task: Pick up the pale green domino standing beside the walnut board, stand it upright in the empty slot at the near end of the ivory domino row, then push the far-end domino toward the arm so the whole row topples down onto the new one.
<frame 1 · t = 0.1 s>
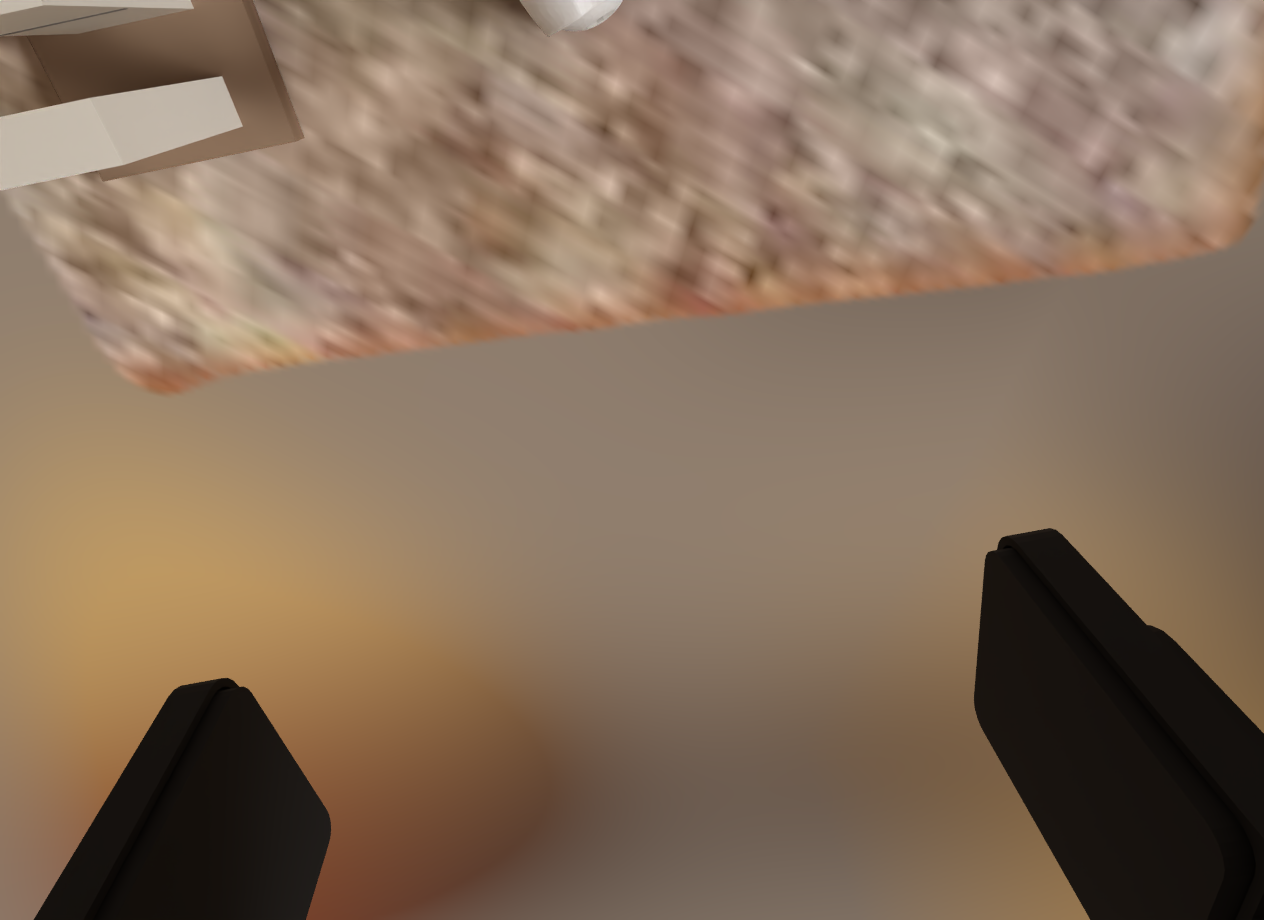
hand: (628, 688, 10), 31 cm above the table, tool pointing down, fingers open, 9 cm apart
domino 1: (177, 113, 32), point 1 cm above the table, touching domino board
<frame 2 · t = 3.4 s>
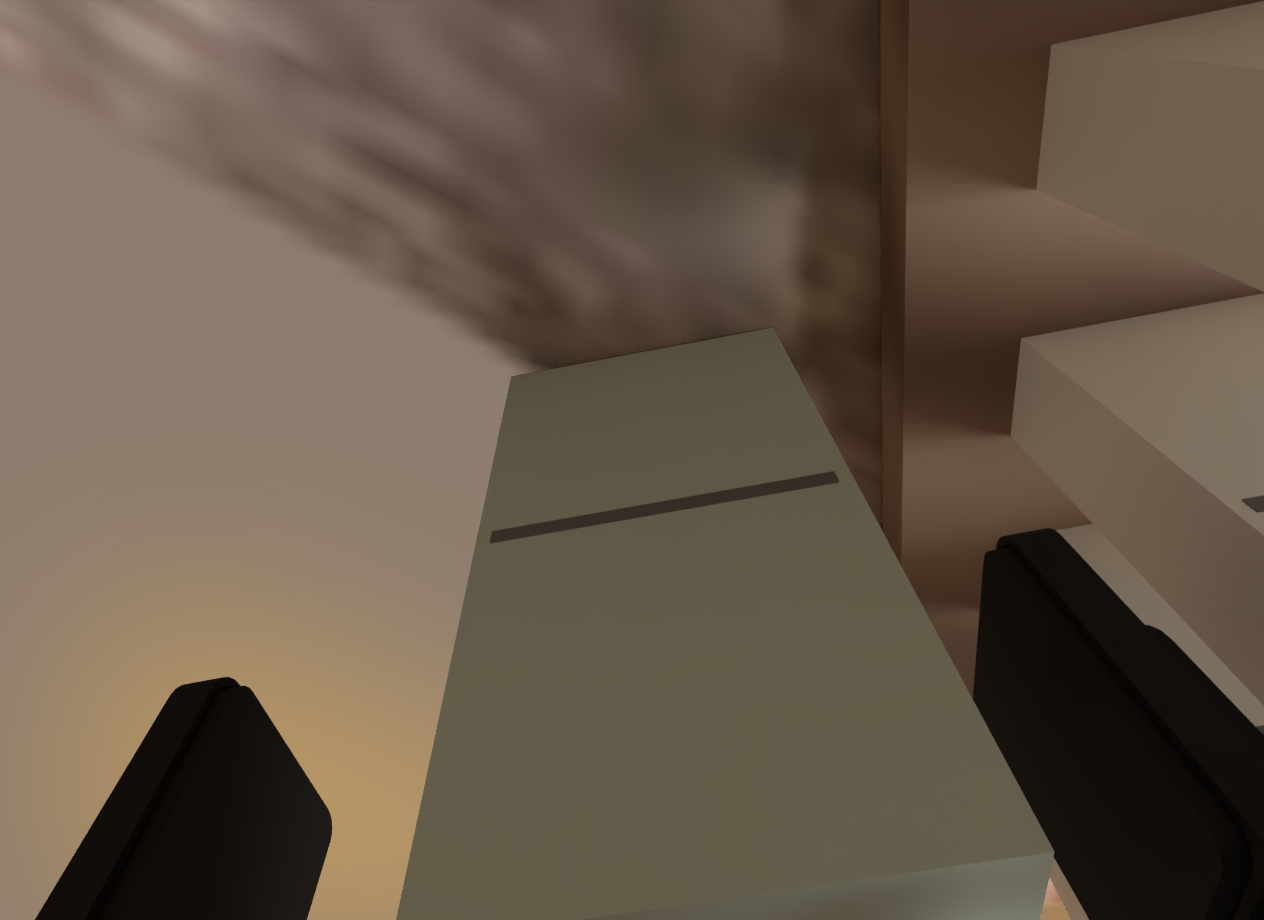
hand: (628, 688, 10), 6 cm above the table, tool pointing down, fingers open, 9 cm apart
domino 2: (1116, 556, 16), point 1 cm above the table, touching domino board
domino 4: (1217, 85, 11), point 1 cm above the table, touching domino board
domino 3: (1158, 363, 13), point 1 cm above the table, touching domino board, gripper
domino 1: (1086, 698, 18), point 1 cm above the table, touching domino board
pale green domino: (649, 398, 15), on the table
domino board: (1122, 312, 14), on the table
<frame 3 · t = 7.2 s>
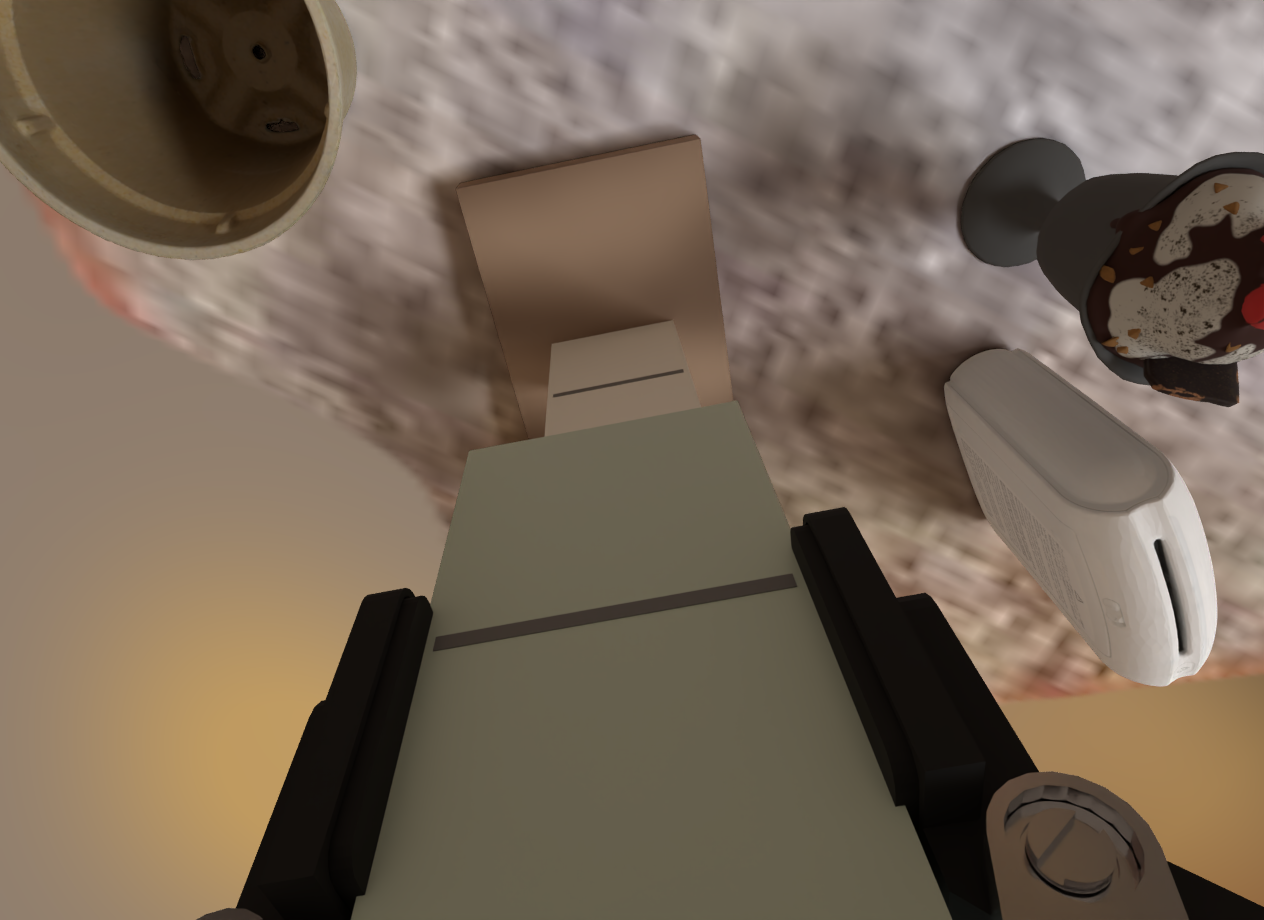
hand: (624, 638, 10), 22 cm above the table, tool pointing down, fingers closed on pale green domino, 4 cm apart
flower pot: (269, 54, 26), on the table
sundae: (1018, 202, 30), on the table
domino 4: (616, 354, 31), point 1 cm above the table, touching domino board
pale green domino: (612, 471, 14), point 18 cm above the table, touching gripper
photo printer: (998, 437, 36), on the table
domino board: (632, 425, 34), on the table
when the fingers open (7 cm above the table, at t = 10.5 s): pale green domino stays where it is, resting on domino board.
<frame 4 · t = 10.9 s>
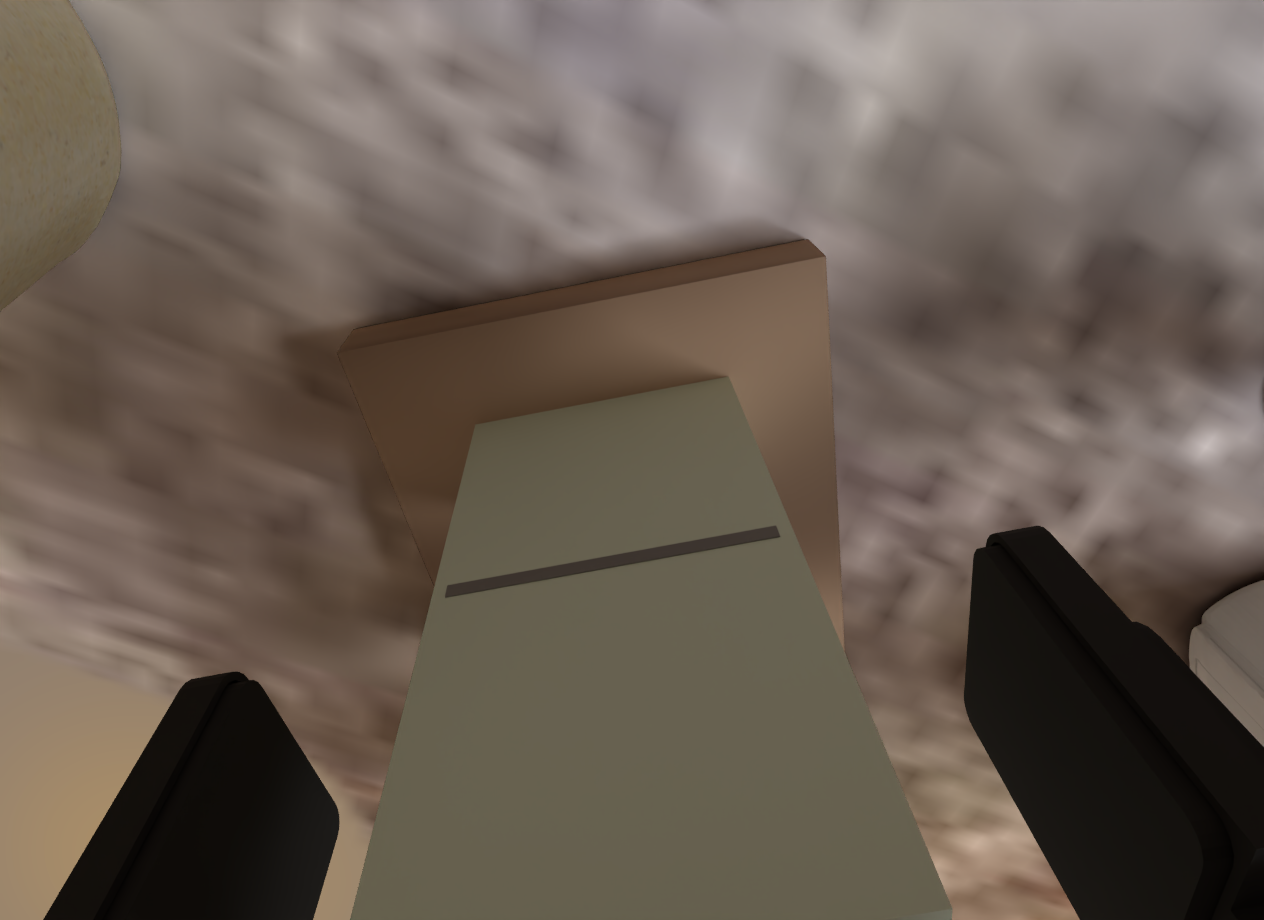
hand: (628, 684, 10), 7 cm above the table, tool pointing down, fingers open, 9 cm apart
pale green domino: (611, 444, 15), point 1 cm above the table, touching domino board
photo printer: (1254, 688, 22), on the table
domino board: (669, 690, 20), on the table
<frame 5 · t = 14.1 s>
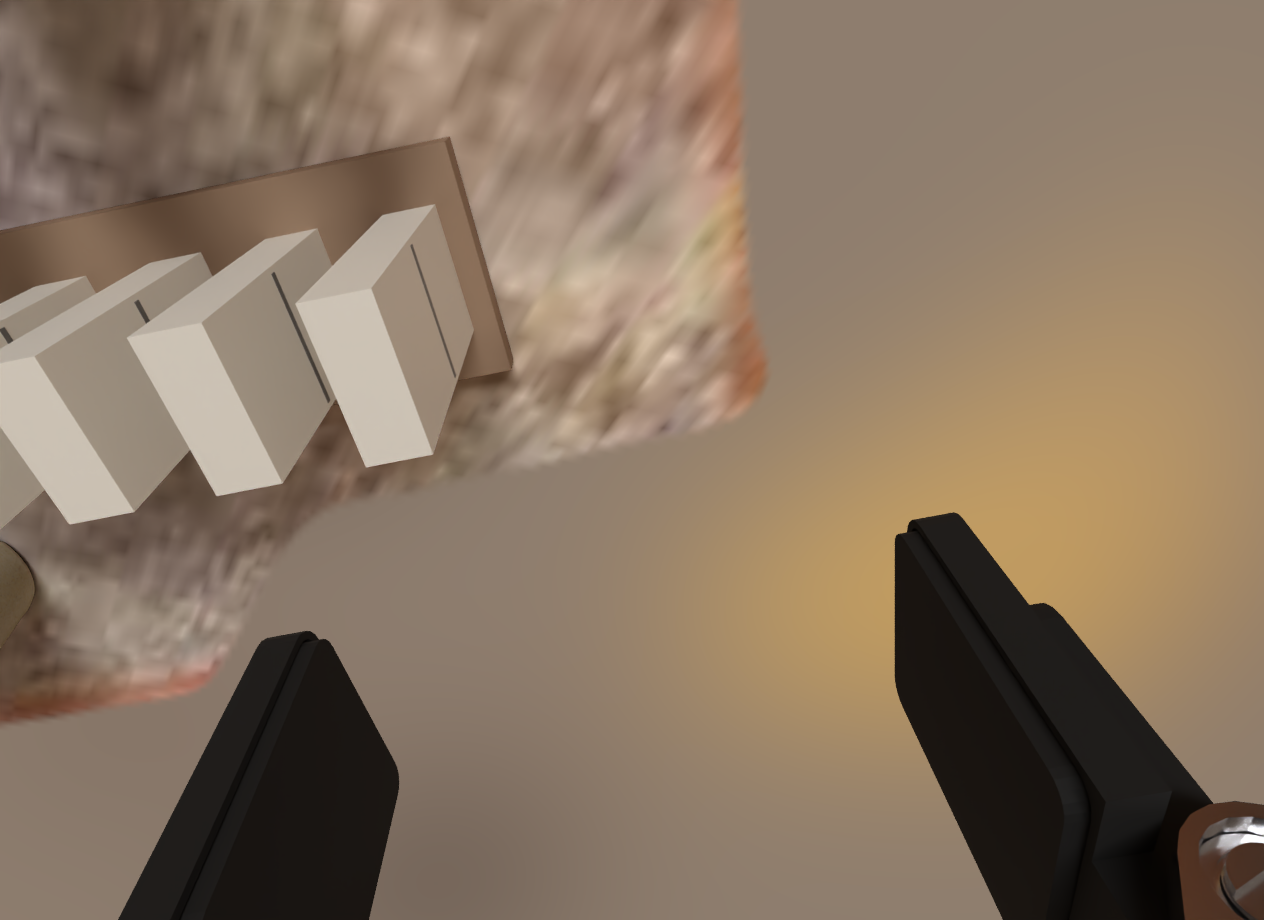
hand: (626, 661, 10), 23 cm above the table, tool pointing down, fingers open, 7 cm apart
domino 2: (317, 297, 29), point 1 cm above the table, touching domino board
domino 4: (96, 342, 29), point 1 cm above the table, touching domino board
domino 3: (206, 320, 29), point 1 cm above the table, touching domino board
domino 1: (430, 275, 29), point 1 cm above the table, touching domino board
domino board: (207, 312, 30), on the table
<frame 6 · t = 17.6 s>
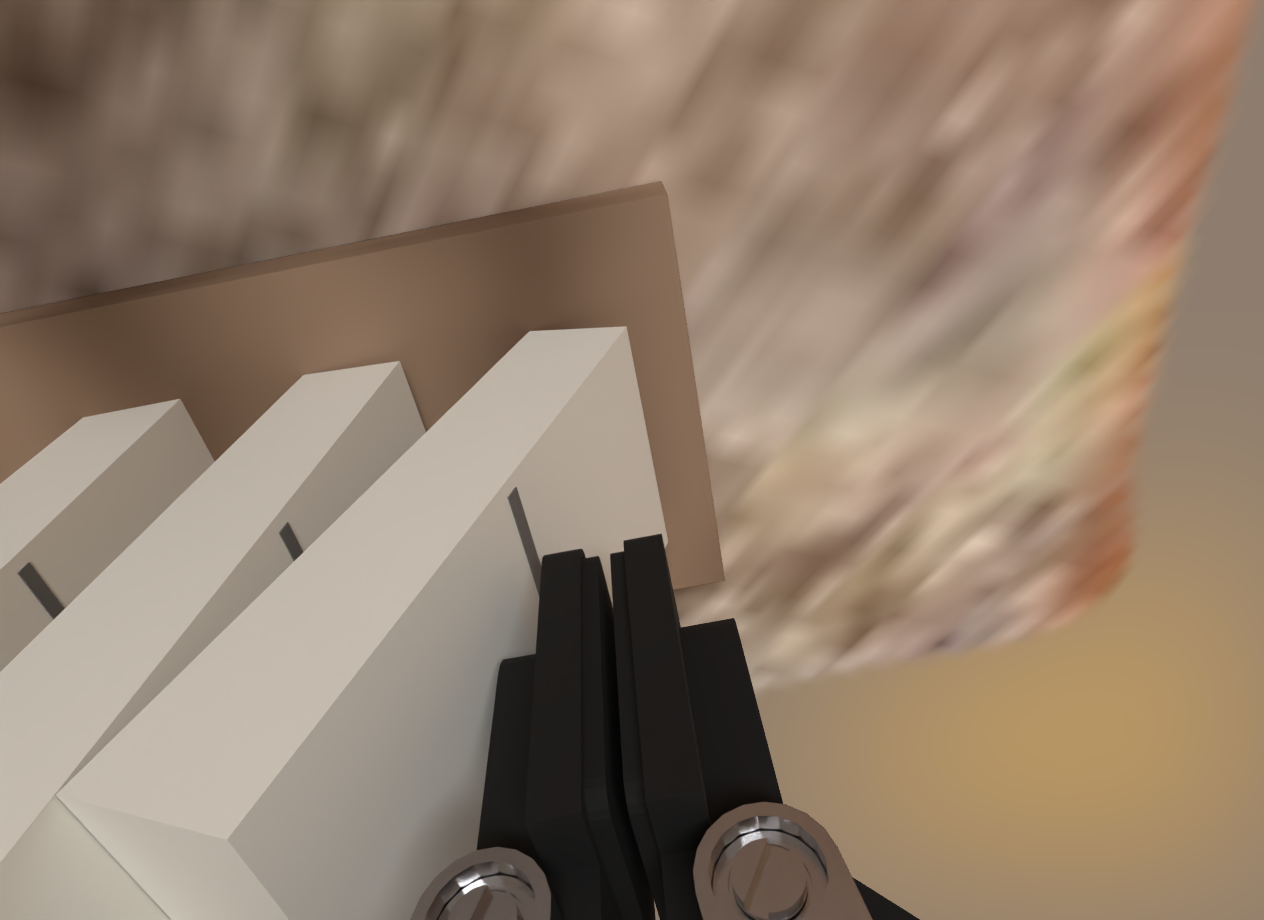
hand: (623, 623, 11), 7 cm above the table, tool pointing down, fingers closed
domino 2: (395, 475, 16), point 1 cm above the table, tilted 7°, touching domino board
domino 3: (192, 510, 16), point 1 cm above the table, touching domino board
domino 1: (602, 442, 15), point 2 cm above the table, tilted 21°, touching domino board
domino board: (194, 485, 17), on the table
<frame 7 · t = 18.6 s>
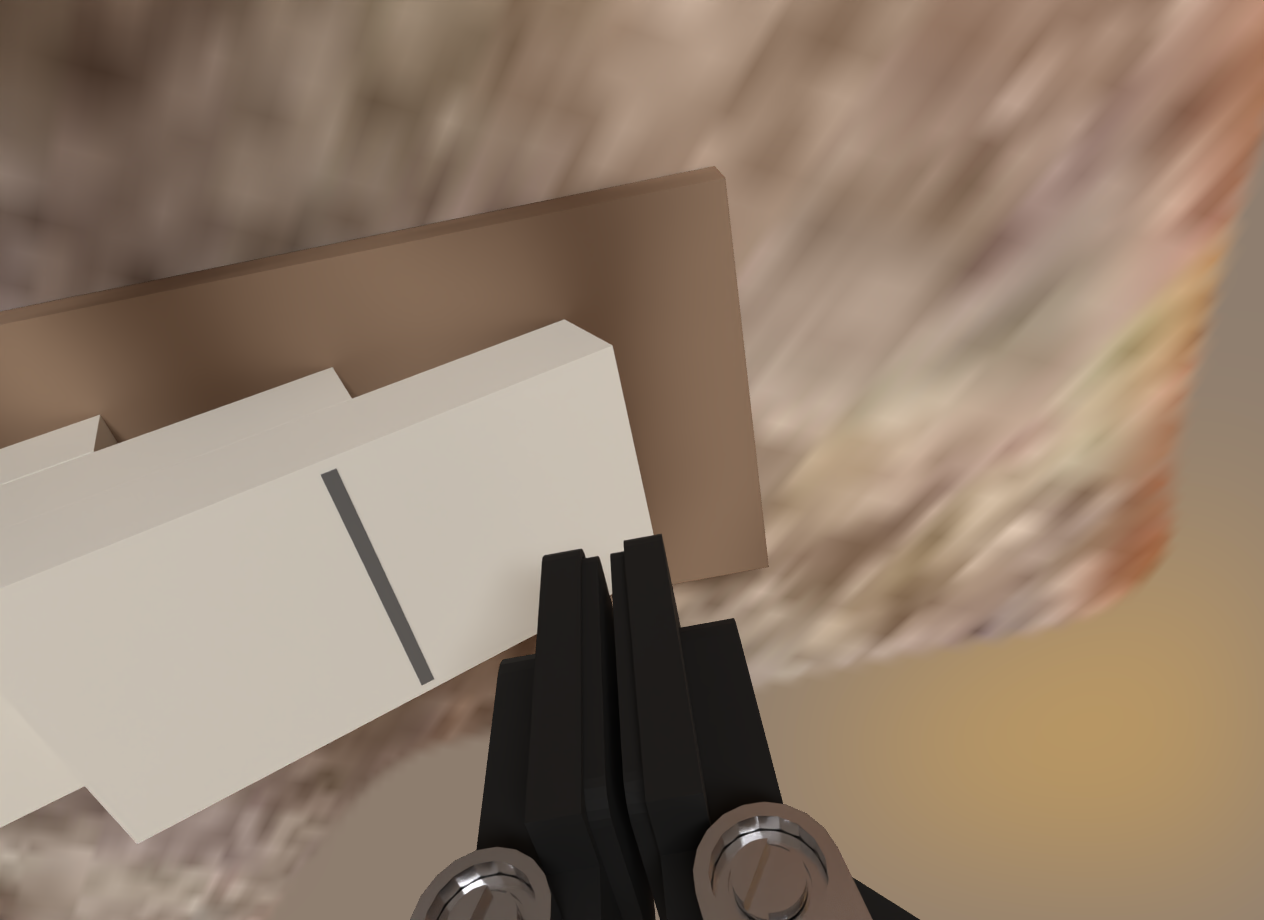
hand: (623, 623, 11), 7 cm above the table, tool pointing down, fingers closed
domino 2: (389, 492, 15), point 2 cm above the table, tilted 64°, touching domino 1, domino 3, domino board
domino 3: (164, 536, 15), point 2 cm above the table, tilted 63°, touching domino 2, domino 4, domino board
domino 1: (614, 447, 15), point 2 cm above the table, tilted 64°, touching domino 2, domino board
domino board: (241, 472, 17), on the table
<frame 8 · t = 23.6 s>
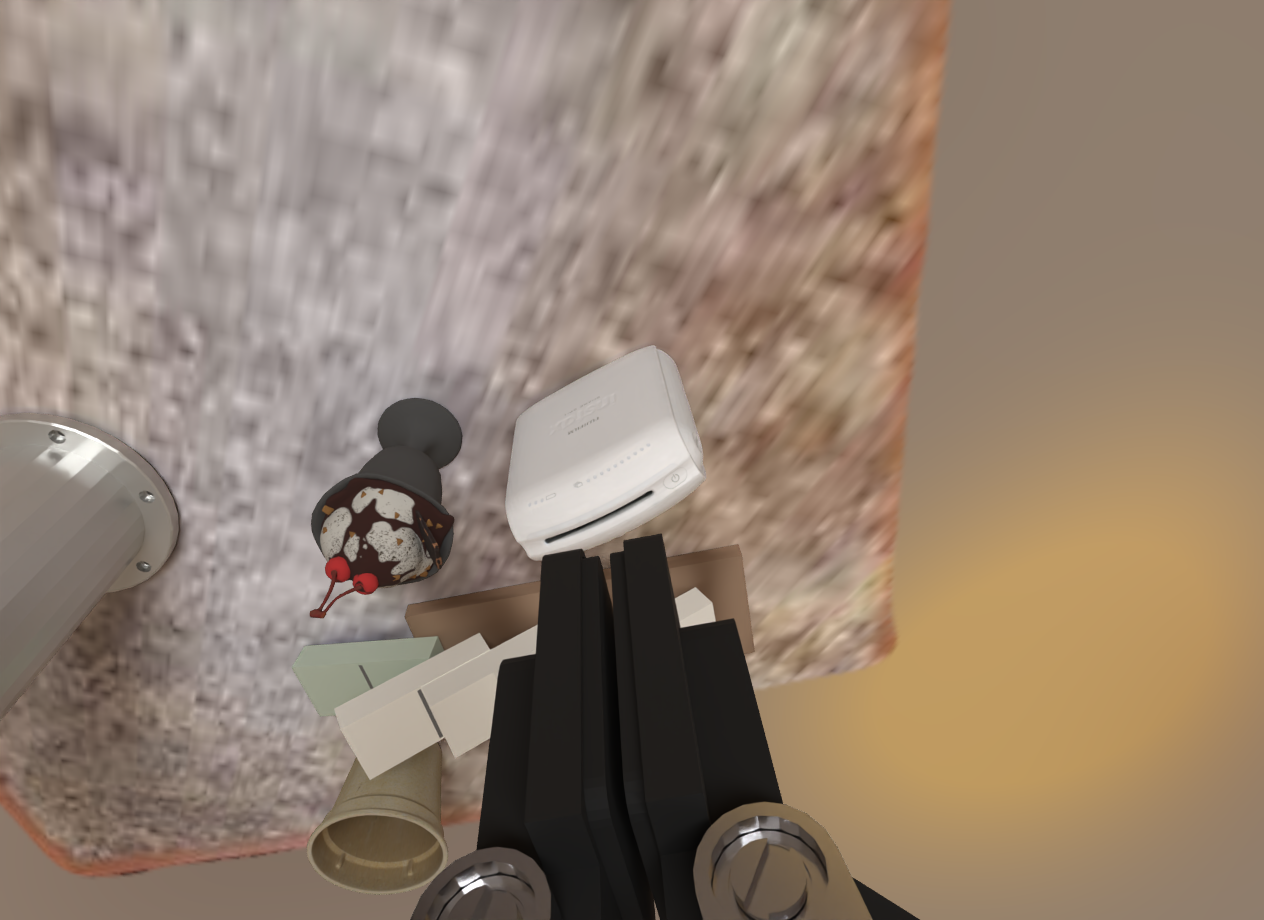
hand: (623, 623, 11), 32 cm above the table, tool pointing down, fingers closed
flower pot: (403, 748, 59), on the table
sundae: (420, 433, 45), on the table
domino 4: (494, 666, 51), point 3 cm above the table, tilted 63°, touching domino 3, pale green domino
domino 3: (574, 647, 52), point 2 cm above the table, tilted 63°, touching domino 2, domino 4, domino board
domino 1: (708, 622, 51), point 2 cm above the table, tilted 64°, touching domino 2, domino board
pale green domino: (444, 672, 52), point 2 cm above the table, tilted 98°, touching domino 4, domino board
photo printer: (599, 399, 45), on the table
domino board: (585, 623, 53), on the table
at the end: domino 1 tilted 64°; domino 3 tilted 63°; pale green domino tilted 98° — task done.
